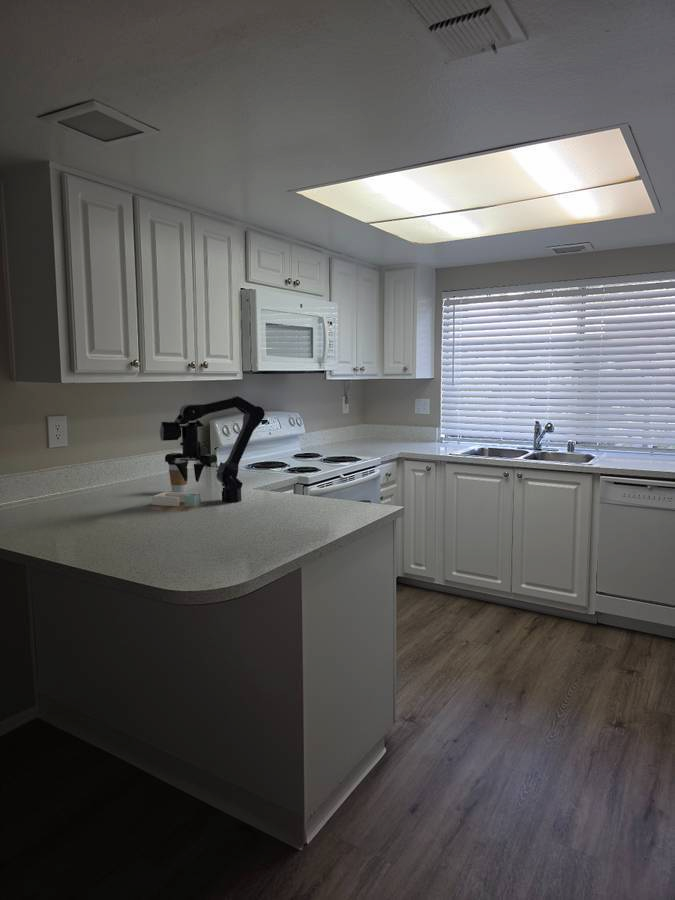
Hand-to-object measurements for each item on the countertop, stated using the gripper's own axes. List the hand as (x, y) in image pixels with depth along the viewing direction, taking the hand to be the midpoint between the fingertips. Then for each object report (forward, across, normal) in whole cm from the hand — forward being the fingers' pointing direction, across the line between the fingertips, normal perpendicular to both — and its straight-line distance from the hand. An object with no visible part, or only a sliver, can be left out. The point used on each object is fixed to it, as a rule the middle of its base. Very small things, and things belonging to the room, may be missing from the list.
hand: (191, 481), depth 228 cm
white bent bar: (+9, +9, 0) cm, 13 cm away
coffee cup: (+10, +22, -25) cm, 35 cm away
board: (+10, +6, +2) cm, 12 cm away
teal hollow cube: (+9, 0, 0) cm, 9 cm away
